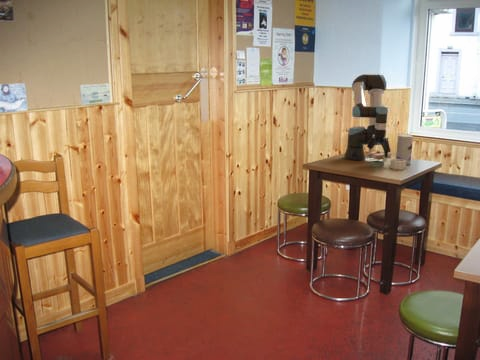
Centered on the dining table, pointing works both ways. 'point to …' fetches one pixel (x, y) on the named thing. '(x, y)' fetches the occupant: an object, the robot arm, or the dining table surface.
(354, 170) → the dining table surface
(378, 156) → the lid
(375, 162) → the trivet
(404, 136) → the container
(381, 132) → the robot arm
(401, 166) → the bowl
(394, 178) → the dining table surface
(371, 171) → the dining table surface
